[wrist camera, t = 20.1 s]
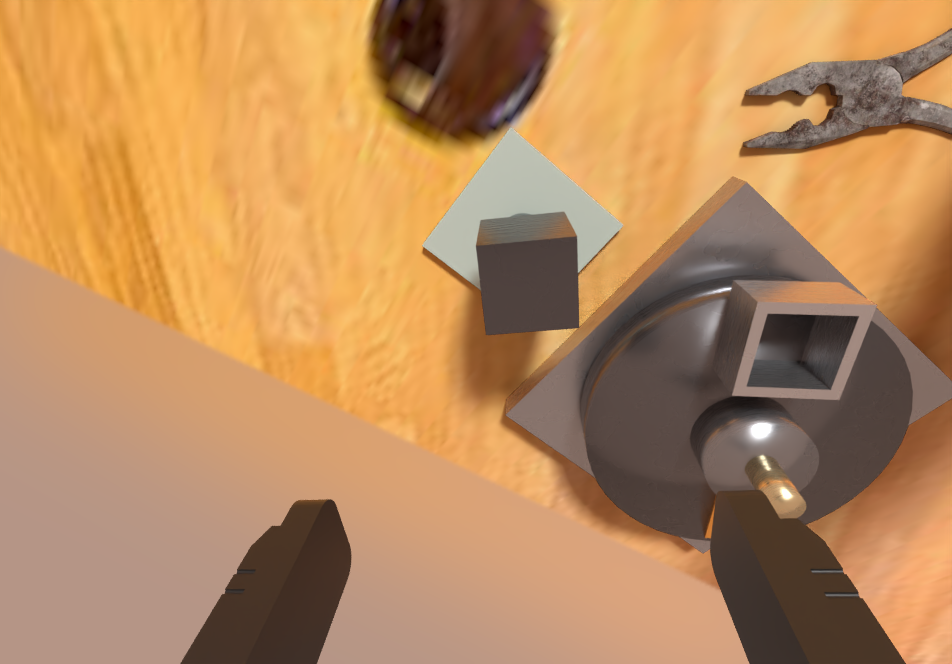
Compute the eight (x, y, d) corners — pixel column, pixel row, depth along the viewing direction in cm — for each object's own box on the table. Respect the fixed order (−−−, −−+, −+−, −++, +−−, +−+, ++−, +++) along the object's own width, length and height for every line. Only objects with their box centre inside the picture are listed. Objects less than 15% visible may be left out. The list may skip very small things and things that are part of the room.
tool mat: (510, 127, 28) (510, 127, 28) (621, 223, 30) (623, 225, 30) (423, 243, 32) (422, 245, 31) (527, 322, 34) (527, 326, 33)
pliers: (1175, 117, 25) (766, 253, 30) (1156, 117, 26) (759, 249, 30) (1212, -104, 21) (738, 92, 26) (1188, -97, 22) (731, 92, 27)
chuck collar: (596, 259, 29) (625, 324, 21) (934, 266, 27) (1104, 338, 19) (570, 501, 38) (583, 611, 30) (824, 516, 36) (910, 636, 28)
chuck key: (483, 204, 30) (475, 245, 22) (556, 197, 29) (577, 236, 21) (490, 273, 32) (486, 335, 24) (559, 267, 31) (578, 328, 23)
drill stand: (732, 176, 28) (746, 182, 27) (938, 375, 33) (962, 391, 31) (506, 399, 37) (505, 415, 35) (695, 533, 41) (703, 553, 39)
